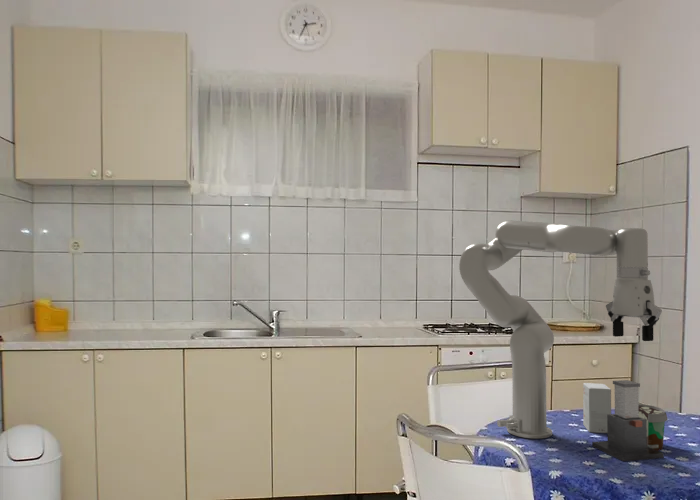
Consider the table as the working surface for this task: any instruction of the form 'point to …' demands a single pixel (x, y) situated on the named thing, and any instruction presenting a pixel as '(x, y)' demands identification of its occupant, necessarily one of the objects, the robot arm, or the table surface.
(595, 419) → the small box
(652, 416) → the food container
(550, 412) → the table surface
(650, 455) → the stand
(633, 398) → the column
